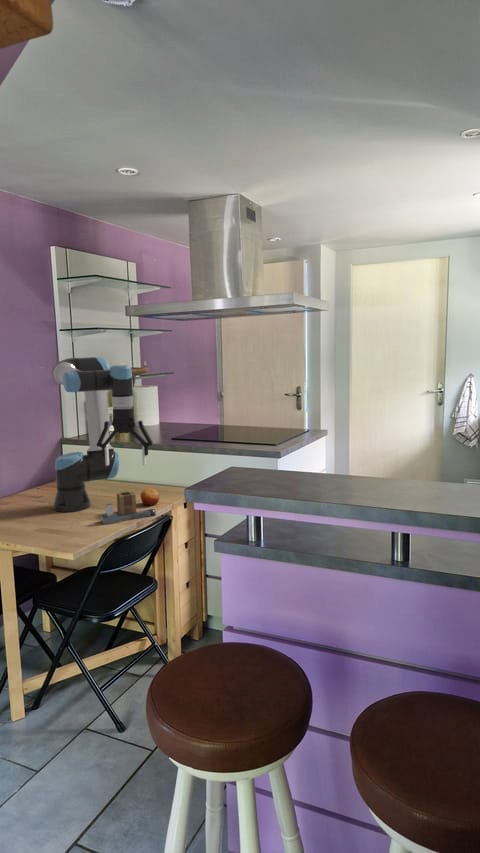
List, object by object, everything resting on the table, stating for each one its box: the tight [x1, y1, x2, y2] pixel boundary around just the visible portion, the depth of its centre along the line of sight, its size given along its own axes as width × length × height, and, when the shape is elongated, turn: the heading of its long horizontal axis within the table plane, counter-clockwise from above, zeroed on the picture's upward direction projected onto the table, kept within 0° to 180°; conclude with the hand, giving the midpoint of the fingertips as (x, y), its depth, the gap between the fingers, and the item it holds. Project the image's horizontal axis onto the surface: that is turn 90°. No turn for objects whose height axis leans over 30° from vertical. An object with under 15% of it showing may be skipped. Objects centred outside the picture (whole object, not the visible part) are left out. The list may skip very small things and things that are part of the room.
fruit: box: [140, 487, 160, 507], centre depth 236 cm, size 8×8×8 cm
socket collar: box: [116, 490, 137, 514], centre depth 224 cm, size 6×6×8 cm
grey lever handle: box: [100, 503, 157, 526], centre depth 216 cm, size 5×22×7 cm, turn 116°
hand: (125, 464), depth 200 cm, fingers open, 13 cm apart
